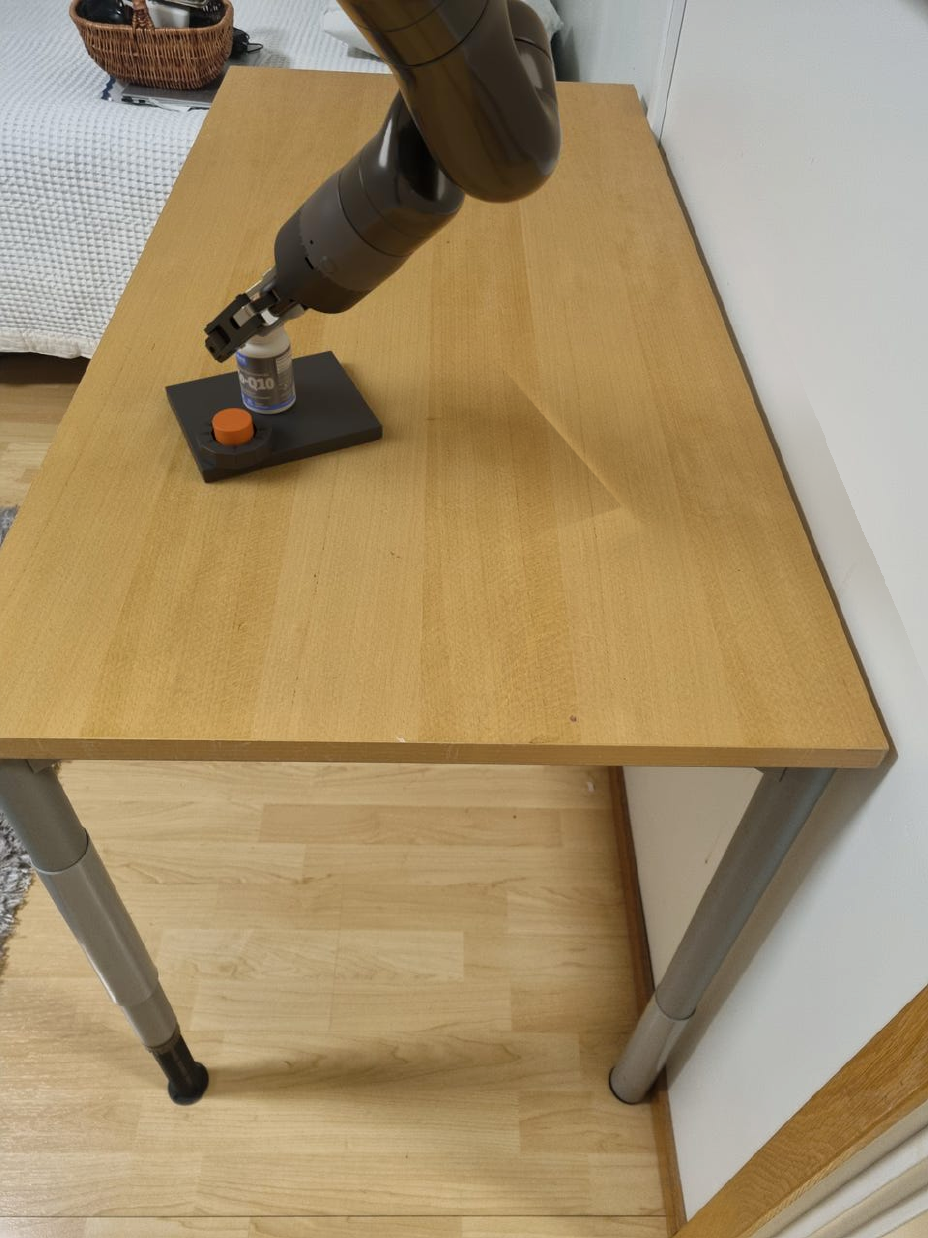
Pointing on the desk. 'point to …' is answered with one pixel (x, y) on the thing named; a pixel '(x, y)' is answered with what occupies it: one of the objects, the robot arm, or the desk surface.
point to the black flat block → (275, 419)
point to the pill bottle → (267, 371)
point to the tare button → (233, 426)
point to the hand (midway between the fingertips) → (250, 329)
